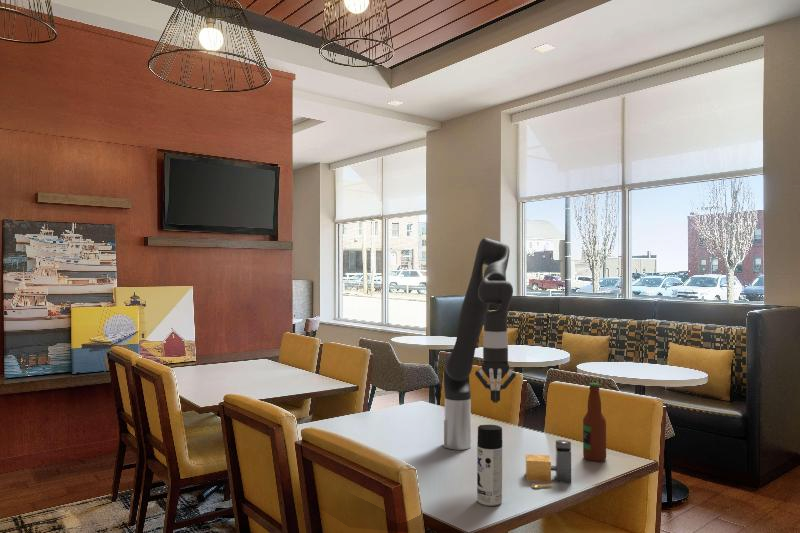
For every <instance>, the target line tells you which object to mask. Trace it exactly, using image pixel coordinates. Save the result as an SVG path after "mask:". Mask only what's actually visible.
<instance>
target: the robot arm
mask: <svg viewBox="0 0 800 533" xmlns="http://www.w3.org/2000/svg"><path fill="white" fill-rule="evenodd" d="M510 250H511V249H510V247H509V245H508V244H507V243H504V242H501V241H497V240H494V239H491V238H488V237H483V238H482V239H481V240H480V241H479V243H478V247H477V251H476V254H475V259H474V262H473V268H472V271H471V277H470V279H469V283H468V287H467V289H466V293H465V296H464V299H463V302H462V305H461V309H460V313H459V317H458V324H457V332H456V333H457V335H456V340H455V343H454V346H453V348H452V351H451V352H450V353H449V354H448V355H447V356H446V357H445V359H444V362H443V389H444V420H443V448H444V449H450V450H456V451H457V450H458V451H462V450H464V451H465V450H468V449H470V448H471V446H472V445H471V442H472V438H471V437H472V436H471V435H472V434H471V433H472V429H471V428H472V425H471V424H472V423H471V422H472V421H471V420H472V417H471V416H472V415H471V412H472V410H471V409H472V407H471V405H472V401H471V400H472V397H471V395H472V394H471V393H472V391H471V385H470V374H471V372H472V369H473V364H474V359H475V354H476V348H477V343H478V341H479V339H480V336H481V334H482V329H483V336H482V337H483V338H482V344H483V346H482V353H483V354H482V357H483V358H482V364H481V368H479V369H478V370H476V371H474V372H475V373H474V374H475V376H476V377H477V379H478V380H479V382H480V383H481V384H482V385H483V387H485V388H484V389H488V390H490V401H491V402H492V403H493V404H498V403H499V402H500V401H501V390H505V389H506V388H508V386H509V385H510V384H511V383H512V381H513V380H514V379H515V378H516V376H517V373H516V372H515V371H513V370H512V369H511V368H510V364H509V338H508V314H509V308H510V305H511V301H512V298H513V295H514V288H513V285H512V283H511V282H510V281H507V274H506V273H507V268H508V263H509V259H510ZM484 265H486V266H487V267H486V268H485V270H484V273H483V268H484ZM490 304H496V305H497V304H500V307H499V308H498V309H495V310H490V311H489V308H490ZM484 374H485V375H486V376H487V378H488V379H489V382H488V380H487V379H486V378H485V377H484ZM506 375H507V378H506V380H505V381H504V382H503V383H501V382H502V379H504V377H505V376H506ZM495 379H496V382H495ZM495 384H496V386H495Z"/></svg>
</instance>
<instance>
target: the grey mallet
mask: <svg viewBox="0 0 800 533" xmlns="http://www.w3.org/2000/svg"><path fill="white" fill-rule="evenodd" d="M571 450H572V442H571V441H570V440H565V439H558V440H555V465H551V472H552V471H553V472H555V478H556V482H557V483H565V484H566V483H568V484H571V483H572V451H571Z"/></svg>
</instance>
